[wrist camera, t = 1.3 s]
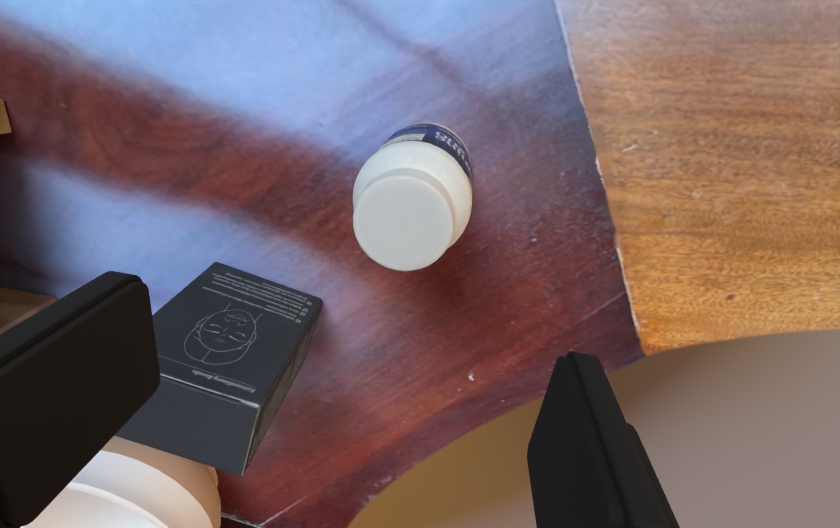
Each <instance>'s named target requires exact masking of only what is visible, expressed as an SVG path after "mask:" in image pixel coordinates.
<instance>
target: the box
mask: <svg viewBox="0 0 840 528" xmlns="http://www.w3.org/2000/svg"><path fill="white" fill-rule="evenodd" d="M321 306H322V300H321V299H320V298H317V297H315V296H312V295H309V294H306V293H303V292H300V291H297V290H294V289H292V288H289V287H286V286H283V285H280V284H278V283H275V282H272V281H269V280H266V279H263V278H261V277H258V276H255V275H252V274H249V273H246V272H243V271H241V270H238V269H235V268H232V267H229V266H227V265H224V264H221V263H218V262H215V263H214V264H212V265H211V266H210V267H209V268H208V269H207V270H205V271H204V272H203V273H202V274H201V275H199V276H198V277H197V278H196V279H195V280H194V281H192V282H191V283H190V284H189V285H188V286H186V287H185V288H184V289H183V290H182V291H181V292H180V293H178V294H177V295H176V296H175V297H174V298H172V299H171V300H170V301H169V302H168V303H167V304H165V305H164V306H163V307H162V308H161V309H159V310H158V311H157V312H156V313H155V314H154V315H153V316H152V319H153V326H154V333H155V340H156V347H157V354H158V361H159V368H160V375H161V379H160V384H159V387H158V388H157V390H156V392H155V393H154V394H153V395H152V396H151V397H150V398H149V399H148V400H147V401H146V403H145V404H144V405H143V406H142V407H141V408H140V409H139V410H138V411H137V412H136V413H135V414H134V415H133V416H132V417H131V418H130V419H129V420H128V422H127V423H126V424H125V425H124V426H123V427H122V428H121V429H120V430H119V431H118V432H117V433H116V434H115V435H114V436H117V437H120V438H123V439H127V440H130V441H133V442H136V443H139V444H142V445H145V446H148V447H152V448H155V449H158V450H161V451H164V452H167V453H170V454H173V455H176V456H180V457H183V458H186V459H189V460H192V461H195V462H198V463H201V464H204V465H208V466H211V467H214V468H217V469H220V470H223V471H227V472H230V473H233V474H236V475H239V476H242V475H243V474H244V472H245V470H246V469H247V467H248V465H249V463H250V461H251V459H252V458H253V456H254V454H255V452H256V450H257V448H258V446H259V444H260V443H261V441H262V439H263V437H264V435H265V433H266V431H267V430H268V428H269V426H270V424H271V422H272V420H273V418H274V416H275V414H276V413H277V411H278V409H279V407H280V405H281V403H282V401H283V399H284V398H285V396H286V394H287V392H288V390H289V388H290V386H291V385H292V383H293V381H294V379H295V377H296V375H297V374H298V372H299V370H300V368H301V366H302V364H303V362H304V360H305V358H306V355H307V351H308V349H309V345H310V342H311V339H312V335H313V332H314V329H315V325H316V322H317V319H318V316H319V313H320V310H321Z"/></svg>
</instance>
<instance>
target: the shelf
mask: <svg viewBox="0 0 840 528" xmlns="http://www.w3.org/2000/svg"><path fill="white" fill-rule="evenodd" d="M11 132H12V131H11V127H10V123H9V119H8V116H7V112H6V108H5V104H4V101H3V100H2V99H0V134H5V133H11ZM54 302H56V297H53V296H48V295H42V294H37V293H31V292H25V291H20V290H14V289H9V288H3V287H0V334H2V333H3V332H5V331H7V330H8V329H10V328H12V327H13V326H15V325H17V324H19V323H20V322H22V321H24V320H25V319H27V318H29V317H31V316H32V315H34V314H36V313H37V312H39V311H41V310H42V309H44V308H46V307H48V306H49V305H51V304H53V303H54Z"/></svg>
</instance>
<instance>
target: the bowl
mask: <svg viewBox="0 0 840 528" xmlns="http://www.w3.org/2000/svg"><path fill="white" fill-rule="evenodd" d="M217 486H218V476H217V473H216V470H215V468H214V467H211V466H208V465H204V464H201V463H198V462H195V461H192V460H189V459H186V458H183V457H180V456H176V455H173V454H170V453H167V452H164V451H161V450H158V449H155V448H152V447H148V446H145V445H142V444H139V443H136V442H133V441H130V440H127V439H123V438H120V437H117V436H113V437H112V438H111V440H110V441H109V442H108V443H107V444H106V445H105V446H104V447H103V448H102V449H101V450H100V451H99V452H98V453H97V454H96V455H95V456H94V458H93V459H92V460H91V461H90V462H89V463H88V464H87V465H86V466H85V467H84V468H83V469H82V470H81V471H80V472H79V473H78V474H77V476H76V477H75V478H74V479H73V480H72V481H71V482H70V483H69V484H68V485H67V486H66V487H65V488H64V489H63V490H62V491H61V492H60V494H59V495H58V496H57V497H56V498H55V499H54V500H53V501H52V502H51V503H50V504H49V505H48V506H47V507H46V508H45V509H44V510H43V512H42V513H41V514H40V515H39V516H38V517H37V518H36V519H35V520H34V521H32V522H31V523H29V524H28V525H25V526H21V527H20V528H220V526H221V502H220V497H219V493H218V490H217Z"/></svg>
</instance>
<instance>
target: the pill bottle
mask: <svg viewBox="0 0 840 528" xmlns="http://www.w3.org/2000/svg"><path fill="white" fill-rule="evenodd" d="M353 208H354V215H353V227H354V232H355V236H356V238H357V240H358V243H359V245H360V246H361V248H362V249H363V250H364V252H365V253H366V254H367V255H368V256H369V257H370V258H371V259H373V260H374V261H375V262H377V263H379V264H380V265H382V266H384V267H387V268H390V269H393V270H398V271H412V270H418V269H421V268H424V267H427V266H429V265H431V264H432V263H434V262H435V261H436V260H438V259H439V258H440V257H441V256H442V255H443V253H444V252H445V251H446V249H448V248H449V247H450V246H452V245H453V244H454V243H455V242H456V241H457V240H458V239H459V237H460V236H461V235H462V233H463V232H464V230H465V228H466V226H467V224H468V221H469V218H470V214H471V208H472V164H471V159H470V155H469V152H468V150H467V148H466V146H465V144H464V143H463V141H462V140H461V139H460V138H459V137H458V136H457V135H456V134H455V133H454V132H453V131H451V130H450V129H448V128H447V127H445V126H442V125H440V124H437V123H430V122H419V123H414V124H411V125H408V126H406V127H404V128H402V129H400V130H399V131H397V132H396V133H395V134H393V135H392V136H391V137H390V138H389V139H388V140H387V141H386V142H385V143H384V144H383V145H382V146H381V147H380V148H379V149H378V150H377V151H376V152H375V153H374V154H373V155H372V156H371V157H370V158H369V159H368V160H367V161H366V163H365V164H364V165H363V167H362V169H361V170H360V172H359V174H358V176H357V179H356V181H355V185H354V189H353Z"/></svg>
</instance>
